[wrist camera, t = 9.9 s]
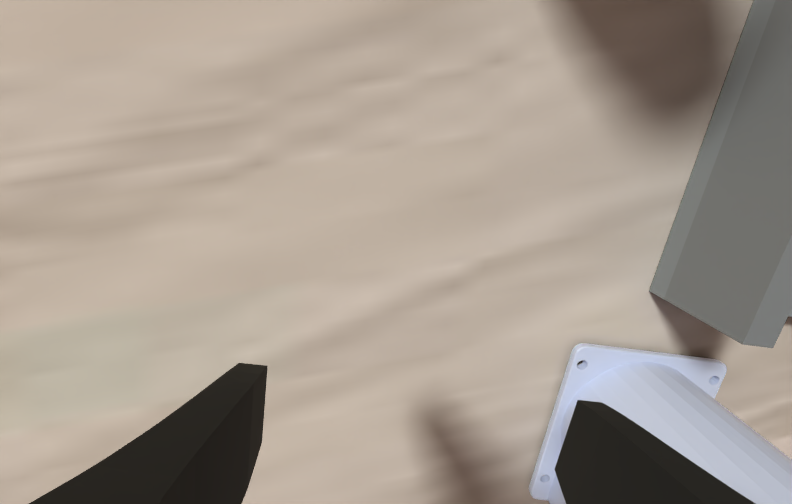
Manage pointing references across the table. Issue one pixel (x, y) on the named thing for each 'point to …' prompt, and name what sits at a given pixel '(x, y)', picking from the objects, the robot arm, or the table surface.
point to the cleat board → (741, 195)
